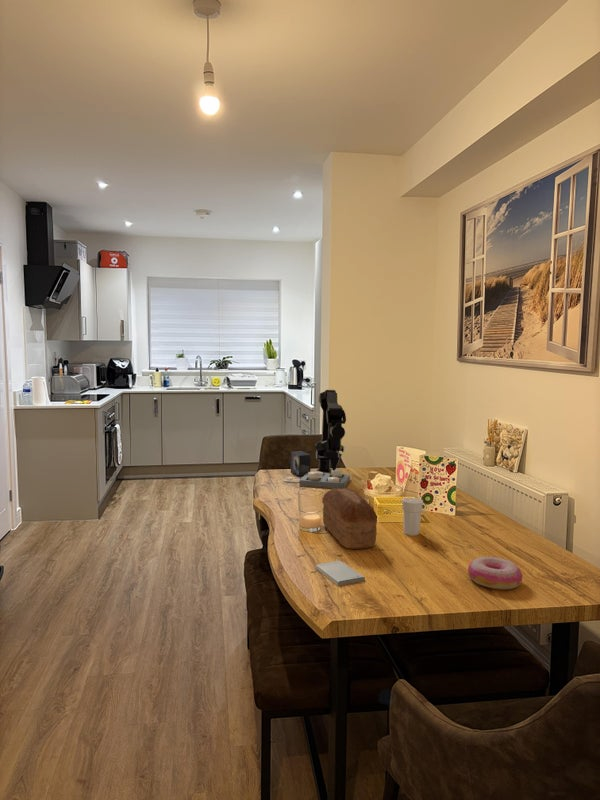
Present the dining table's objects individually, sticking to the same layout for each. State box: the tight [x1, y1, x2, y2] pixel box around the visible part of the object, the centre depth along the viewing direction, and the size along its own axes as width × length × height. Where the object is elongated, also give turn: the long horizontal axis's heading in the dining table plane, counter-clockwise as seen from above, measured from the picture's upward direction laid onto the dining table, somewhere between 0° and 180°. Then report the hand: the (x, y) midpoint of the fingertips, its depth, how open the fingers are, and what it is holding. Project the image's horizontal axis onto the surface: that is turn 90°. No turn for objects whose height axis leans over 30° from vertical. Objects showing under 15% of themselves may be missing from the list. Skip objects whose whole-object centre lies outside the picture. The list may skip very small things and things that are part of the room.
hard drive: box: [314, 560, 366, 586], centre depth 147 cm, size 2×8×12 cm
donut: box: [467, 556, 523, 591], centre depth 144 cm, size 14×13×5 cm
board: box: [283, 472, 351, 489], centre depth 251 cm, size 18×28×2 cm, turn 77°
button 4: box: [330, 468, 343, 478], centre depth 253 cm, size 5×5×3 cm
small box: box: [290, 450, 311, 478], centre depth 266 cm, size 11×6×10 cm, turn 25°
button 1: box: [308, 471, 320, 481], centre depth 246 cm, size 5×5×3 cm
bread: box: [321, 487, 378, 550], centre depth 177 cm, size 12×28×14 cm, turn 13°
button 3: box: [328, 477, 339, 482], centre depth 244 cm, size 5×5×3 cm
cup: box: [401, 497, 424, 536], centre depth 181 cm, size 7×7×11 cm
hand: (333, 470), depth 244 cm, fingers closed
